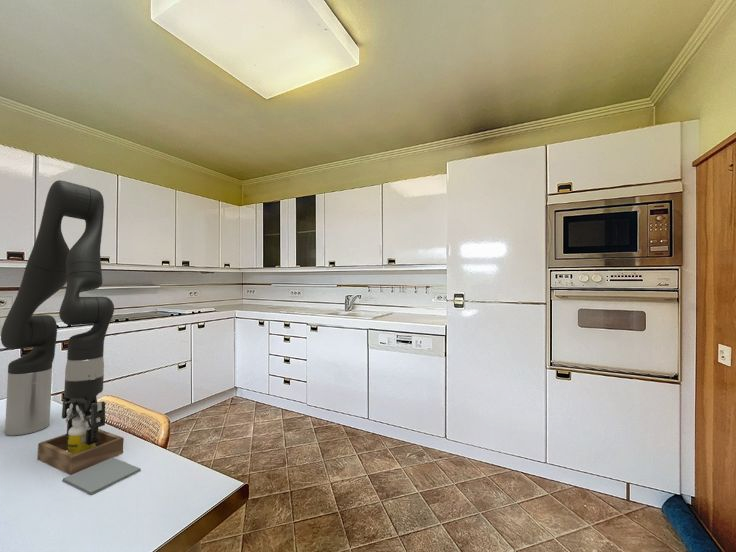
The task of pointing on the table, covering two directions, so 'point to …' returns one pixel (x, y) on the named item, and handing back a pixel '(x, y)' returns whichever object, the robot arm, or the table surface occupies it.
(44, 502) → the table surface
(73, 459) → the walnut box
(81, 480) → the slate mat
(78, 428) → the supplement bottle
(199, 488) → the table surface
